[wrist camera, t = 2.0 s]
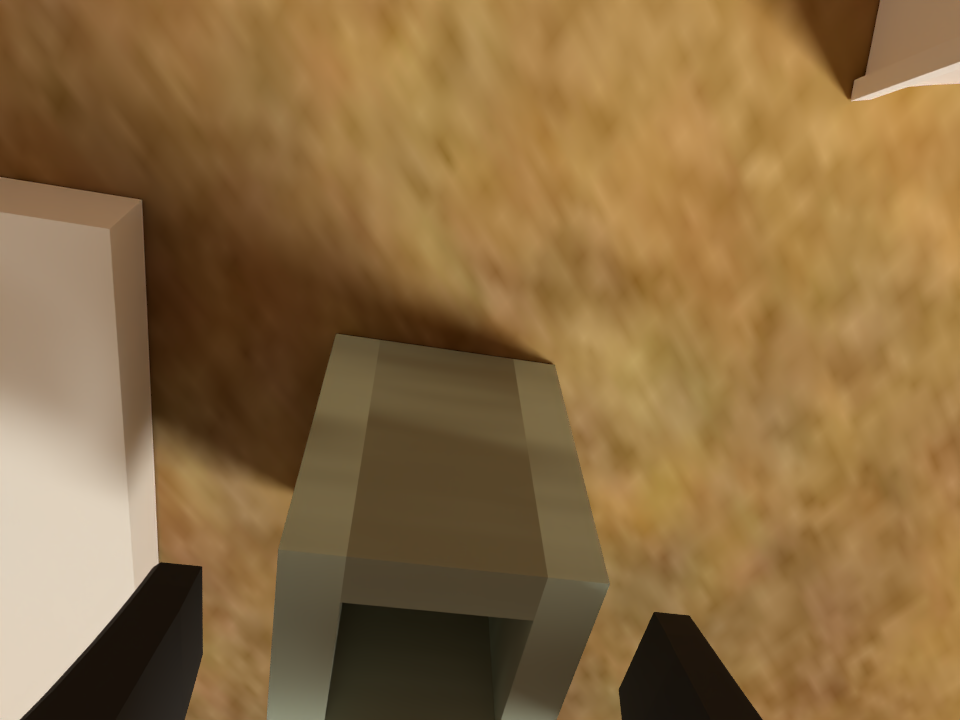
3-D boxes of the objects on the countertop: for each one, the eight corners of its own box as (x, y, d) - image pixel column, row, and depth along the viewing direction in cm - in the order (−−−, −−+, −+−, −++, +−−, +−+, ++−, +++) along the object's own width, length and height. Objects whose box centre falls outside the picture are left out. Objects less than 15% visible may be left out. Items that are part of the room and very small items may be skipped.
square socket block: (510, 524, 18) (536, 770, 13) (319, 503, 17) (264, 751, 12) (554, 364, 15) (609, 584, 10) (336, 333, 15) (278, 549, 10)
